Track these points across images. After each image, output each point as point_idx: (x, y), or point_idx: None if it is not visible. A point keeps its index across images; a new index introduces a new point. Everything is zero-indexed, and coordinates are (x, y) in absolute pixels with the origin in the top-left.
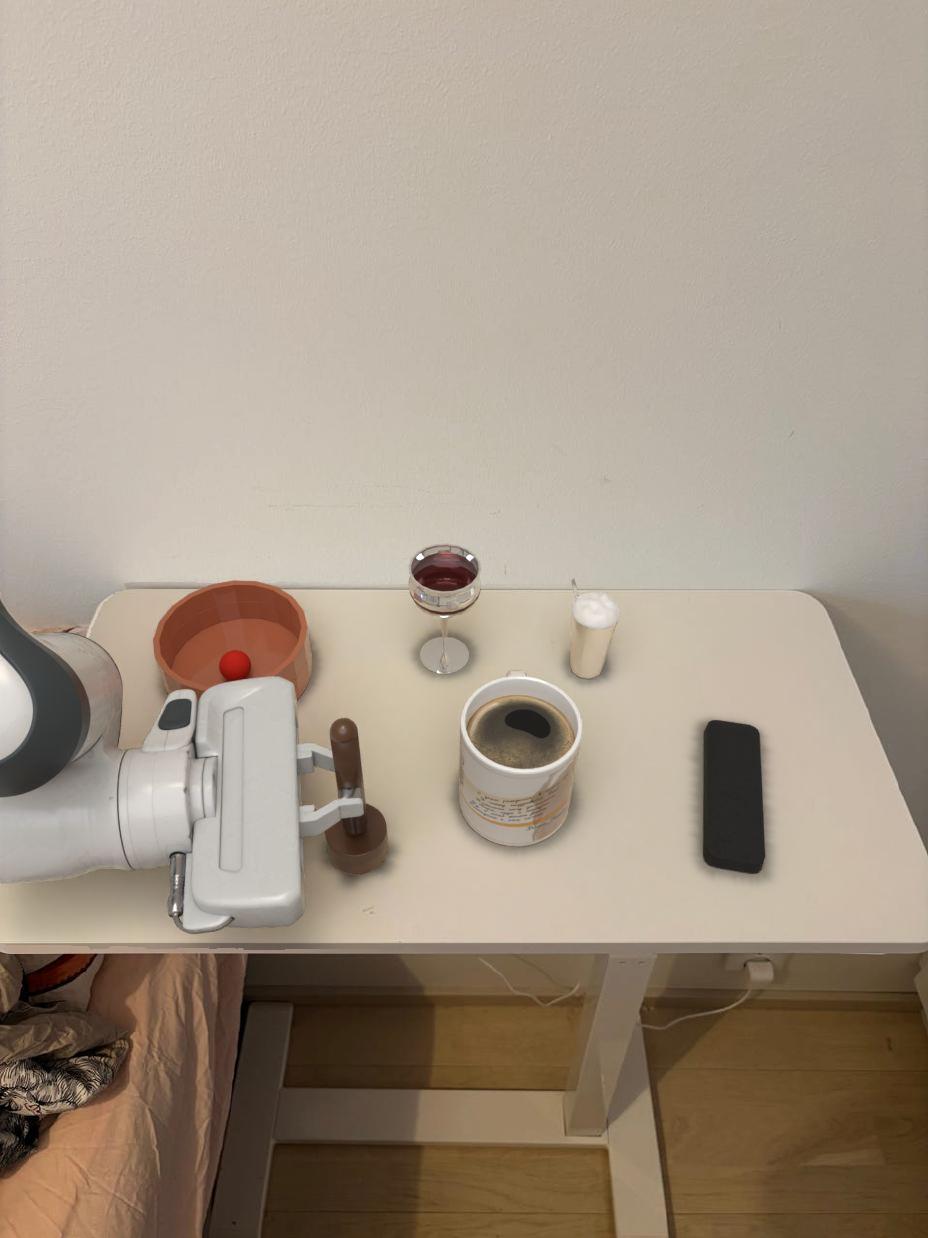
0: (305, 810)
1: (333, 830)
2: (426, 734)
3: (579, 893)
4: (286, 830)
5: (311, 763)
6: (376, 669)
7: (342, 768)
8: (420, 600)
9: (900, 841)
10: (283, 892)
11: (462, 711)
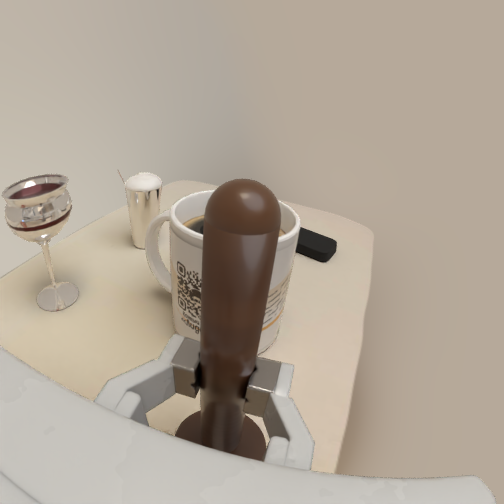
0: (281, 456)
1: None
2: (114, 345)
3: (329, 320)
4: (349, 496)
5: (144, 411)
6: (22, 340)
7: (260, 322)
8: (31, 219)
9: (329, 214)
10: (486, 498)
11: (190, 232)
